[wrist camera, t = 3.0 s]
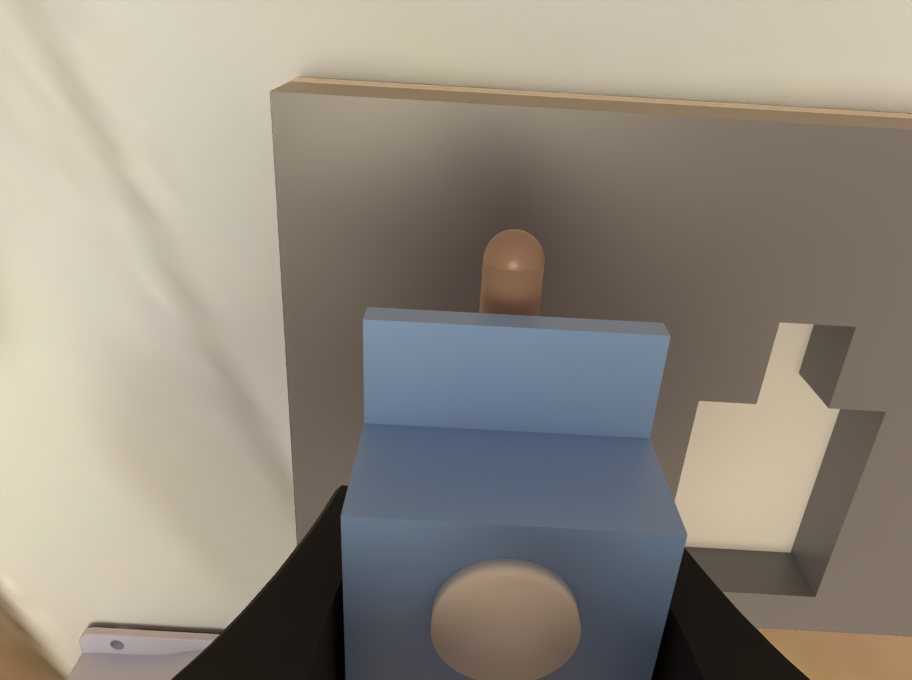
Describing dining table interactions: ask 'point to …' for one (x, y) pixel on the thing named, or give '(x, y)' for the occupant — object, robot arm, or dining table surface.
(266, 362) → the dining table surface
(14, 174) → the dining table surface
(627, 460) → the servo
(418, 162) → the grey flat block
